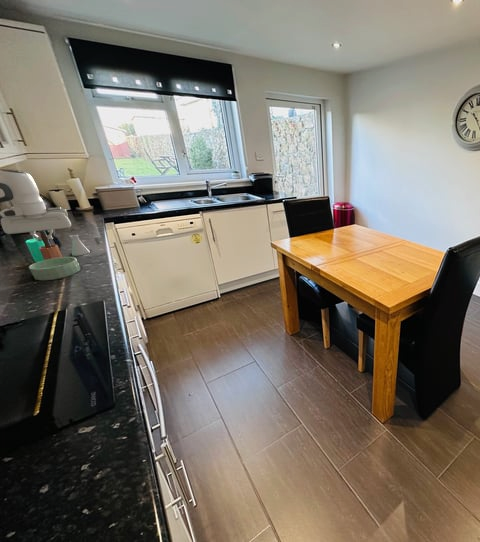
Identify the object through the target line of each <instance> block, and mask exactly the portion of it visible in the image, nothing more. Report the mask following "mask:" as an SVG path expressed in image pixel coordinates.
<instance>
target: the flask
mask: <svg viewBox="0 0 480 542" xmlns="http://www.w3.org/2000/svg"><path fill="white" fill-rule="evenodd" d="M69 238H70V239H71V243H72V244H71V246H72V247H71V250H72V251H71V255H72V256H83V255H87V254H90V252H91V251H90V250H89V249H88V248H87V247H86V246H85V245H84V243H83V242H82V241H81V240H80V238H79V234H71V235H69Z"/></svg>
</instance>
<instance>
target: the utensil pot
mask: <svg viewBox="0 0 480 542" xmlns="http://www.w3.org/2000/svg"><path fill="white" fill-rule="evenodd" d="M50 245H51V248H46V247H45V246H42V247H39V249H40V252H41V254H42V256H43V258H44V260H47V259H52V258H58V257H63V254H62V252H61V250H60V247H59V246H58V244H50Z"/></svg>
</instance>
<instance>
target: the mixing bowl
mask: <svg viewBox="0 0 480 542" xmlns="http://www.w3.org/2000/svg"><path fill="white" fill-rule="evenodd" d="M28 270H29V271H30V273H31V275H32V278H33V279H34V280H36V281H54V280H60V279H65V278H68V277H71V276H73V275H74V274H77V273H78V272H80V271H81V265H80V264H79V261H78V259H77V257H74V256H62V257H58V258H52V259H47V260H43V261H39V262H34V263H32V264H30V265H29V266H28Z"/></svg>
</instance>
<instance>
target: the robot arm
mask: <svg viewBox="0 0 480 542" xmlns="http://www.w3.org/2000/svg"><path fill="white" fill-rule="evenodd" d="M6 202H11V203H12V205H13V206H9V207H8V208H5V209H2V210H0V217H1V218H0V225H1V228H2V230H3V232H4V233H5V234H6V235H7V234H8V235H13V234H14V235H15V234H22V233H29V234H30V235H31V236H32V237H34V239H35V238H36V239H37V241H43V240H42V238H41V236H40V235H37V234H36V232H38V231H43V230H44V231H47V233H49V234H48V235H47V234H46V237H47V239H48V240H49V241H52V240H53V239H54V237H53V233H54V230H59V229H69V228H71V226H72V221H71V220H70V218H69V213H68V210H67V209H65V208H63V207H61V206H59V207H46V204H45V201H44V200H43V199H42V197H41V196H40V190H39V188H38V186H37V184H36V182H35V180H34V178H33V177H32V175H31V174H29V172H27V171H24V170H19V169H8V168H5V169H4V168H3V169H0V204H2V203H6Z"/></svg>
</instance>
